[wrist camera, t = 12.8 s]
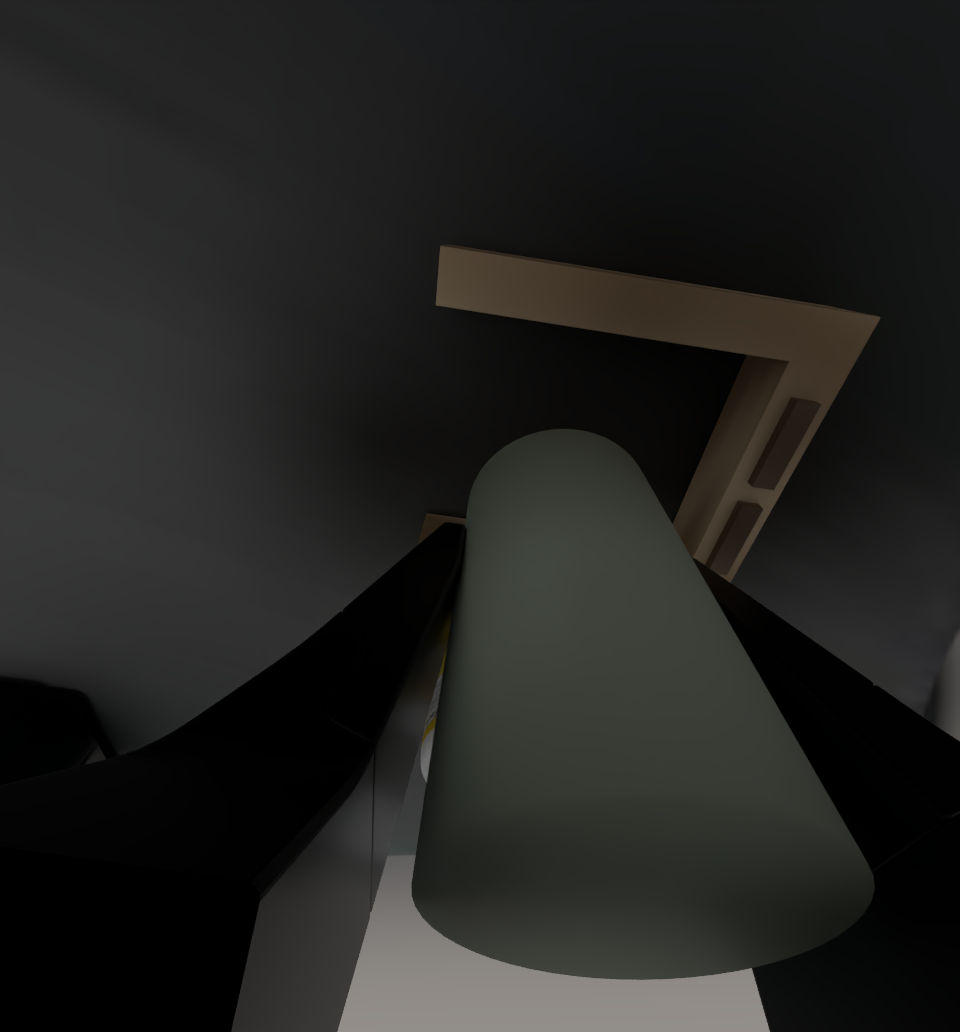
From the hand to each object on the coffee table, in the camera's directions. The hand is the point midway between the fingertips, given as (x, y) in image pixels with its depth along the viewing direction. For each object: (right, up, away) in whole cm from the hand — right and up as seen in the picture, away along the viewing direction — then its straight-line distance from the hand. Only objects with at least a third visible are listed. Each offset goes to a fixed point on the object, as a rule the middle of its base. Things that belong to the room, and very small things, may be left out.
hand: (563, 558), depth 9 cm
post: (0, +1, +1) cm, 2 cm away
